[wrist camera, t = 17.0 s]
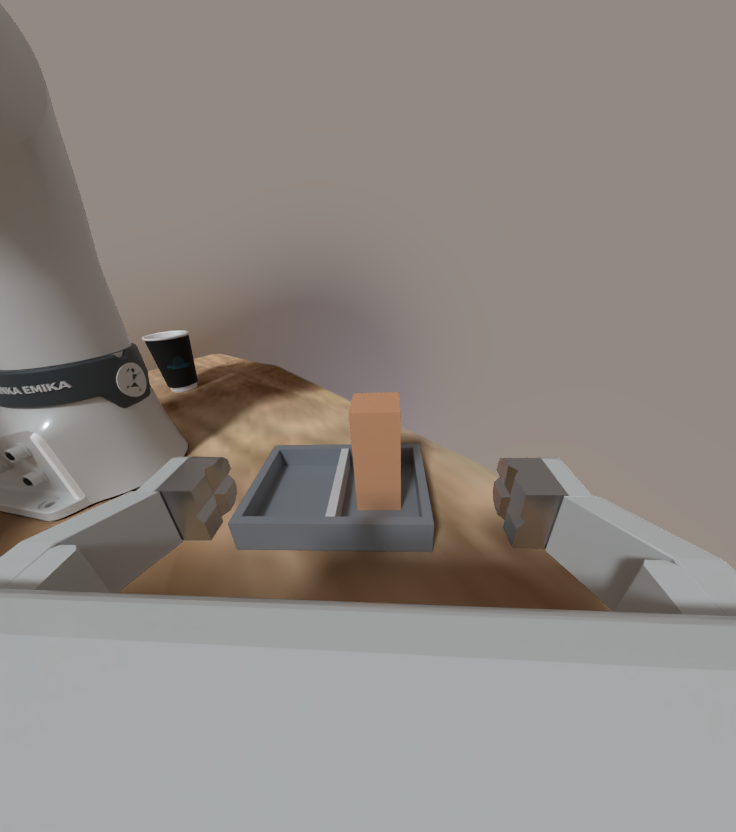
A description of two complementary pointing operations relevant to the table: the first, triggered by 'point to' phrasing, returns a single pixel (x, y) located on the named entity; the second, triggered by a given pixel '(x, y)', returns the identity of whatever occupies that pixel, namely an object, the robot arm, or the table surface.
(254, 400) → the table surface
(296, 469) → the organiser
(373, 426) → the block
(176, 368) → the dixie cup
